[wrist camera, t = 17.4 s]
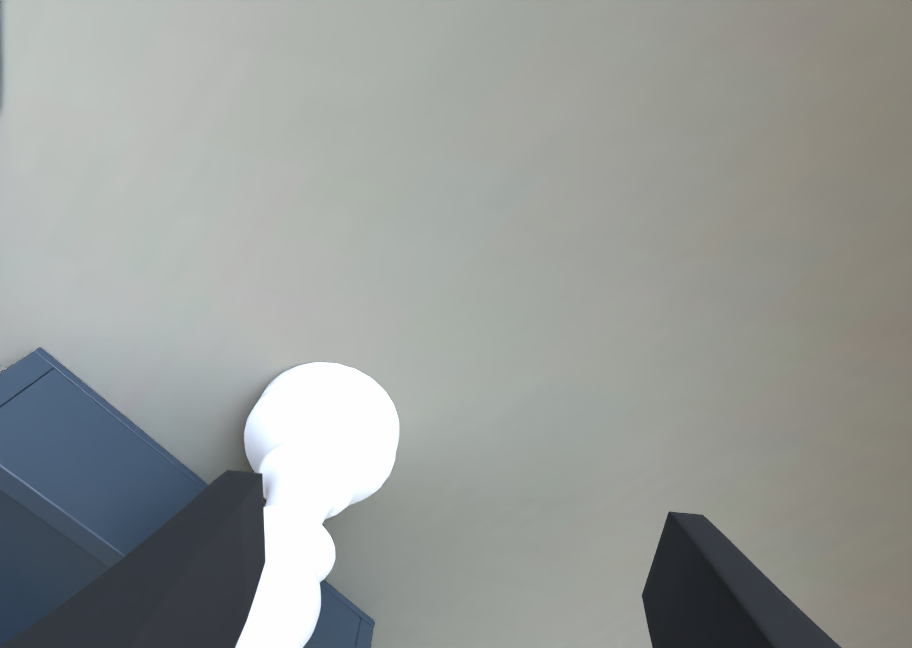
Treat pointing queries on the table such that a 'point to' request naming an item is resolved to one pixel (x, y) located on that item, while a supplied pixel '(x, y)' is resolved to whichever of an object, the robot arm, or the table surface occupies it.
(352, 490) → the chess pawn
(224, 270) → the table surface
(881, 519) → the table surface
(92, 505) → the crate
